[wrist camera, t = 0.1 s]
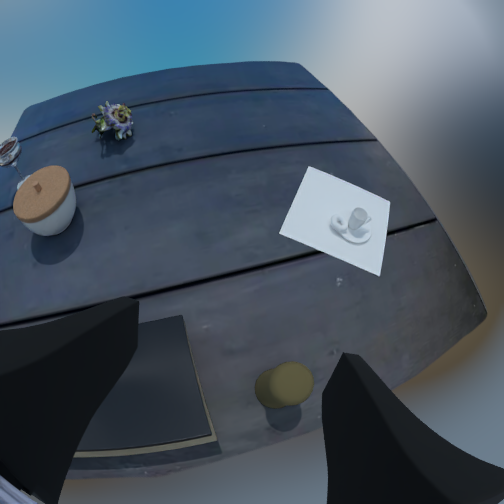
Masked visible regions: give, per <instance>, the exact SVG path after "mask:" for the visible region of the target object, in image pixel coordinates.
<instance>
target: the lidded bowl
mask: <svg viewBox="0 0 504 504" xmlns="http://www.w3.org/2000/svg"><path fill="white" fill-rule="evenodd" d="M75 209H76V195H75V190H74V187H73V184H72V182H71V179H70V176H69V174H68V172H67V170H66V169H65V168H63V167H60V166H48V167H45V168H42V169H40V170H38V171H36V172H35V173H33V174H32V175H31V176H29V177H28V178H27V179H26V180H25V181H24V182H23V184H22V185H21V186H20V188H19V189H18V191H17V193H16V195H15V198H14V202H13V210H14V213H15V215H16V216H17V218H18V219H19V220H21V222H22V223H23V224H24V225H25V226H26V227H27V228H28V229H29V230H30V231H32V232H33V233H35V234H38V235H41V236H50V235H56V234H59V233H61V232H63V231H64V230H65V229H66V228H67V227H68V226H69V224H70V223H71V221H72V218H73V216H74V213H75Z"/></svg>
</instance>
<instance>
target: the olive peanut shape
mask: <svg viewBox="0 0 504 504" xmlns="http://www.w3.org/2000/svg"><path fill="white" fill-rule="evenodd" d="M313 387H314V378H313V375H312V373H311V371H310V370H309V369H308V368H307V367H306V366H305V365H303V364H301V363H298V362H293V361H292V362H285V363H282V364H280V365H278V366H277V367H276V368H275V369H269V370H267V371H265V372H263V373H262V374H261V375H260V376H259V378H258V379H257V381H256V385H255V394H256V396H257V398H258V400H259V401H260V402H261V403H262V404H263V405H265V406H267V407H269V408H274V409H275V408H282V407H284V406H286V405H289V406H291V405H298V404H300V403H302V402H304V401H305V400H306V399H307V398H308V397H309V396H310V394H311V393H312V391H313Z"/></svg>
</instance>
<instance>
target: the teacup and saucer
mask: <svg viewBox="0 0 504 504" xmlns="http://www.w3.org/2000/svg"><path fill="white" fill-rule="evenodd" d="M372 219H373V218H372V216H371V215H370V214H369V213H368V212H367V210H366V209H364V208H363V207H361V206H356V207H354V208H343V209H340V210H339V211H338V212H337V213H336V214H333V215H332V216H331V217H330V225H331V227H332V228H333V229H334V230H335V231H337V232H338V233H339V234H340V235H341V236H342V237H343V238H344V239H345V240H347V241H349V242H351V243H355V244H363V243H365V242H367V241H368V240H369V239H370V238H371V237H372V234H373V228H372V225H371V221H372Z"/></svg>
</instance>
